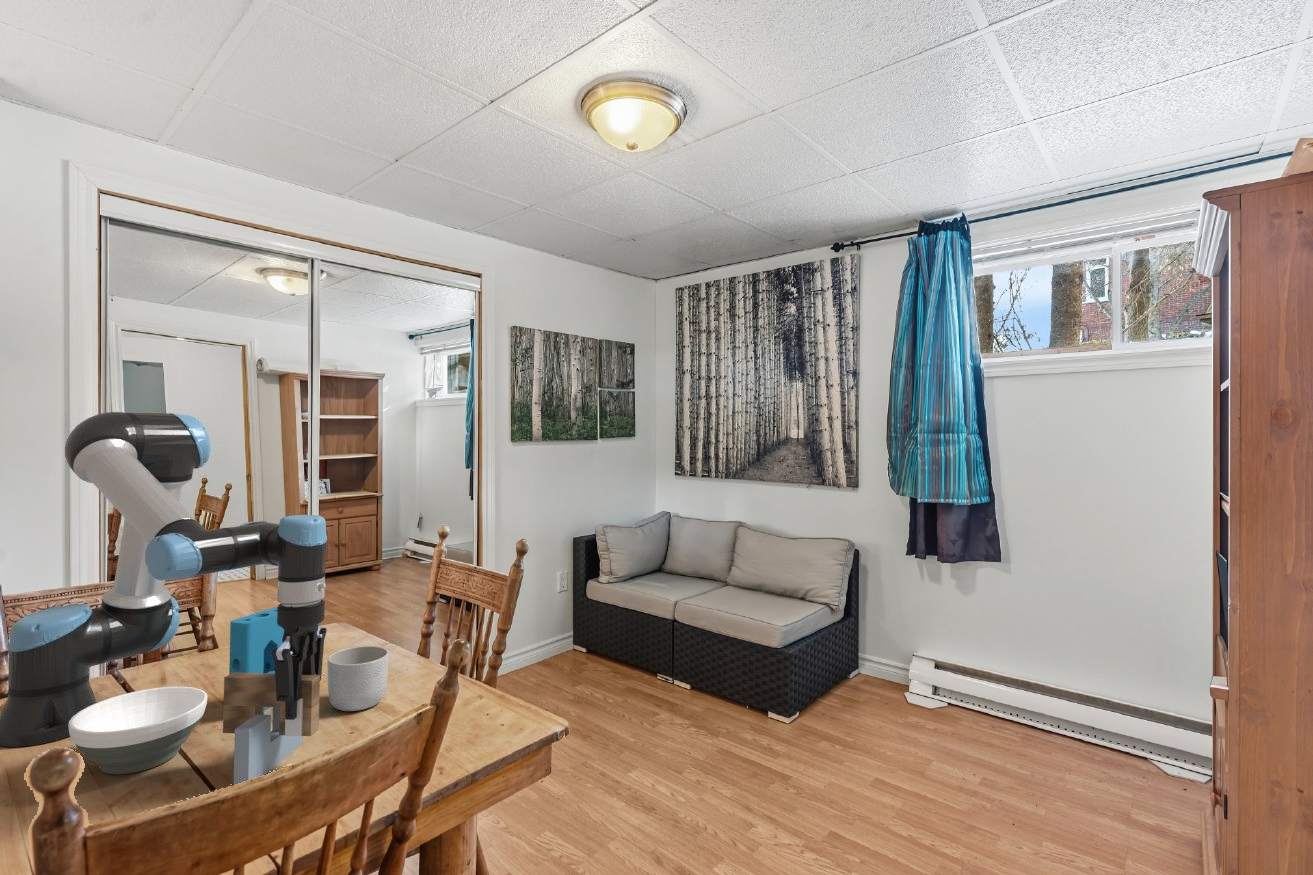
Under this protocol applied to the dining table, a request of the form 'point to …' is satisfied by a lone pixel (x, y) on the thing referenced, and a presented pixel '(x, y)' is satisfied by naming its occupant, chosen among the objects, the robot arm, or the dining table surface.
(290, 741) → the slot stand
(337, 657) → the planter
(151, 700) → the bowl
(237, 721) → the wooden blocks
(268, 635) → the block
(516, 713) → the dining table surface
